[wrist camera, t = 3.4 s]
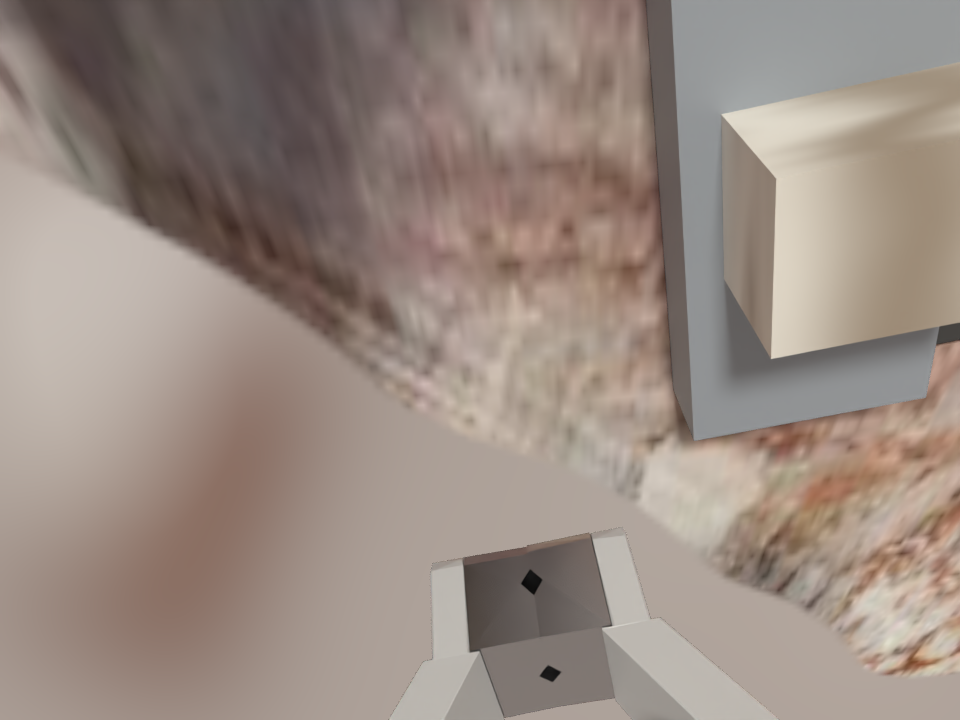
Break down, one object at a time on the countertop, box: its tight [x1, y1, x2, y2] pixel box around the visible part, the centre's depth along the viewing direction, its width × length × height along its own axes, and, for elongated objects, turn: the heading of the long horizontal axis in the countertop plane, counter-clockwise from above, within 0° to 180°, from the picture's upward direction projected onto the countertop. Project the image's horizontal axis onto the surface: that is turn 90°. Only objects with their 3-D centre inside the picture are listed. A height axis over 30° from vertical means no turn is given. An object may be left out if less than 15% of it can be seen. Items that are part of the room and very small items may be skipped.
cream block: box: [721, 62, 960, 359], centre depth 18 cm, size 6×4×4 cm
